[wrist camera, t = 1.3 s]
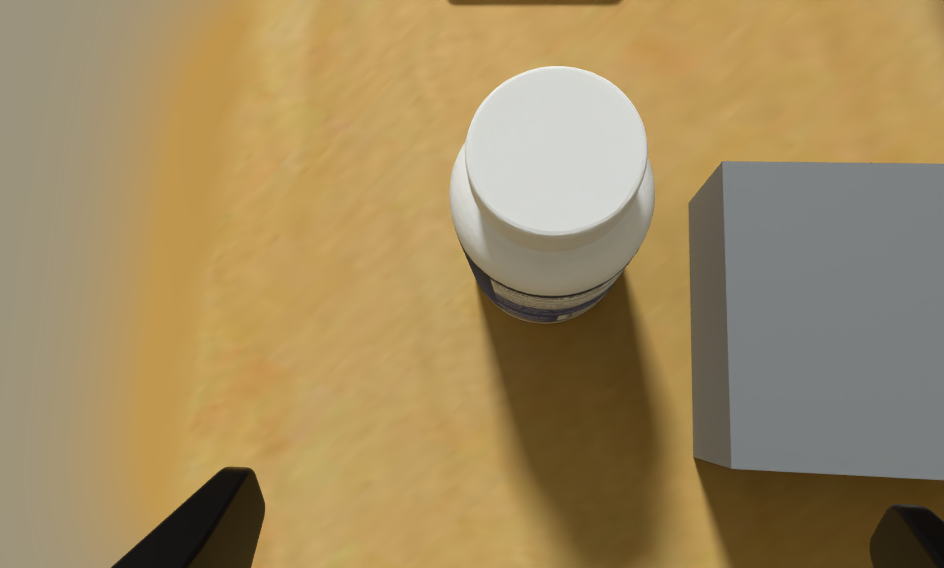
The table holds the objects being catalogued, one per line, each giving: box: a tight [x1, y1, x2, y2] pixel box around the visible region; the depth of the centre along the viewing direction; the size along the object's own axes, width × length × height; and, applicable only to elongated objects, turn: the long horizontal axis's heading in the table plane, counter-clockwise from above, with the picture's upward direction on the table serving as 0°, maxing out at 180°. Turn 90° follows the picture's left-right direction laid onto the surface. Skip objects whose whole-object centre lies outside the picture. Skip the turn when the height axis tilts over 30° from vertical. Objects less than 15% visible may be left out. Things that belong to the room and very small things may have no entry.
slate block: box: [689, 161, 944, 480], centre depth 20 cm, size 9×9×4 cm
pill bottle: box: [450, 66, 655, 324], centre depth 18 cm, size 5×5×10 cm
